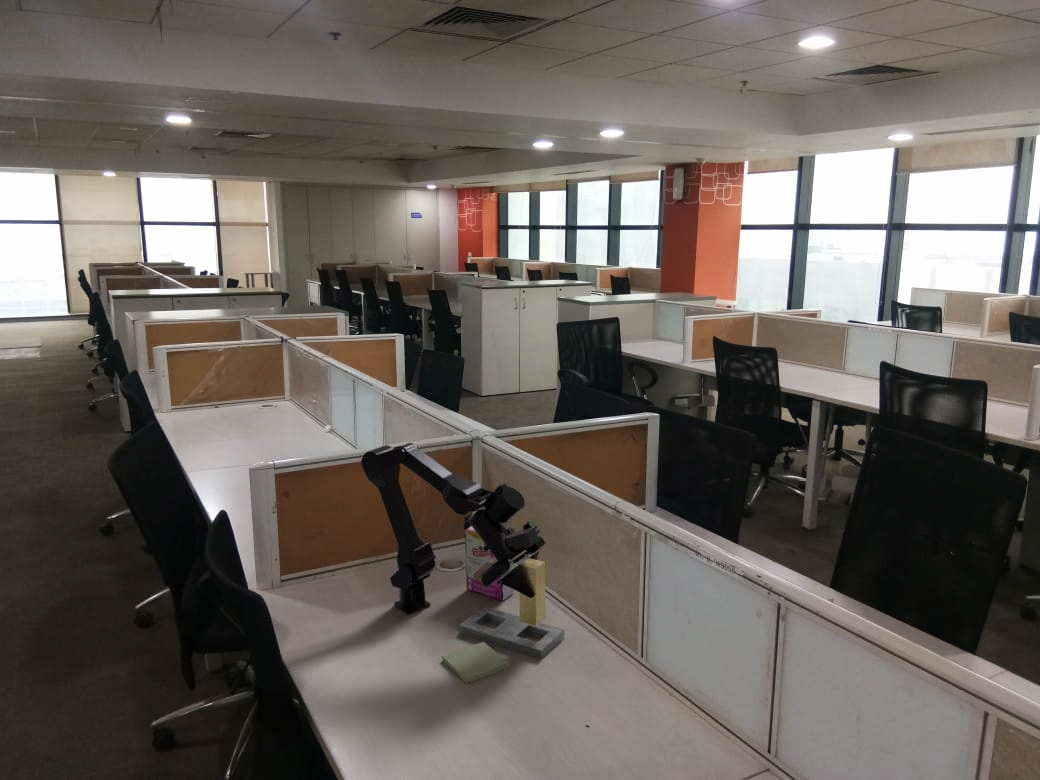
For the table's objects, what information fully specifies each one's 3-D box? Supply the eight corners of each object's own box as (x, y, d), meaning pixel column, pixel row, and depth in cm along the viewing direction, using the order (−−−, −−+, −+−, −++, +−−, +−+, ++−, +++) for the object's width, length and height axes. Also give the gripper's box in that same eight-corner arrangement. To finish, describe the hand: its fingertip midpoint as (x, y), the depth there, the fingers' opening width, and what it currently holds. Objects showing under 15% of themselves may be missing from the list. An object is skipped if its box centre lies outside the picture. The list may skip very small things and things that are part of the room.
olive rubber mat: (442, 660, 161) (442, 656, 160) (483, 646, 166) (483, 641, 166) (466, 683, 153) (466, 678, 152) (508, 667, 158) (508, 662, 158)
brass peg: (519, 621, 166) (519, 564, 163) (529, 613, 169) (529, 558, 166) (536, 626, 164) (535, 569, 161) (545, 618, 167) (545, 562, 164)
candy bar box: (465, 591, 191) (463, 528, 188) (477, 583, 195) (475, 522, 192) (503, 602, 185) (501, 538, 182) (514, 594, 190) (513, 531, 186)
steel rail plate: (459, 633, 171) (459, 625, 171) (484, 614, 180) (484, 606, 179) (541, 659, 161) (541, 650, 160) (564, 637, 169) (564, 629, 169)
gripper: (491, 528, 156) (539, 592, 152) (538, 500, 171) (582, 557, 168) (460, 556, 161) (506, 618, 158) (508, 527, 177) (550, 582, 174)
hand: (538, 592), depth 164 cm, fingers closed on brass peg, 4 cm apart
